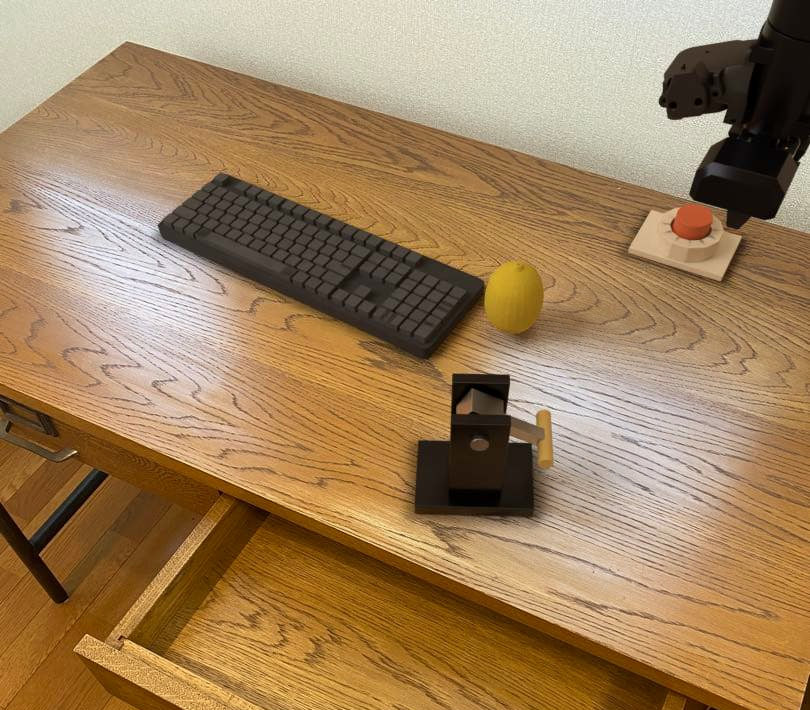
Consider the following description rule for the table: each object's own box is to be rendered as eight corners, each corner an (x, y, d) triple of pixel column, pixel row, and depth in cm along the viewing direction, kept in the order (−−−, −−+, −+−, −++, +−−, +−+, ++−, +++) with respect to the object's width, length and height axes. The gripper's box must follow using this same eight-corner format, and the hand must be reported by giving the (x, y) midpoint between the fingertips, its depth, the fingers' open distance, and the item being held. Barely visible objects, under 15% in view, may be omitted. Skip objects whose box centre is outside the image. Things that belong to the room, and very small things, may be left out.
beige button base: (740, 241, 80) (748, 221, 77) (720, 281, 76) (729, 261, 74) (649, 215, 82) (655, 194, 80) (627, 252, 79) (633, 232, 77)
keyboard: (485, 291, 77) (487, 275, 75) (426, 360, 72) (426, 345, 70) (224, 182, 87) (220, 166, 86) (158, 236, 83) (153, 220, 81)
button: (712, 225, 78) (717, 210, 76) (701, 245, 76) (707, 230, 75) (678, 215, 79) (683, 200, 77) (667, 235, 77) (672, 220, 76)
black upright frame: (530, 450, 66) (546, 364, 57) (532, 517, 63) (550, 437, 53) (418, 448, 67) (416, 362, 58) (414, 513, 63) (411, 433, 54)
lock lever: (540, 424, 62) (558, 408, 60) (543, 474, 59) (561, 458, 57) (456, 392, 59) (472, 373, 57) (455, 442, 56) (471, 425, 54)
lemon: (471, 337, 74) (476, 270, 67) (500, 303, 76) (506, 236, 69) (520, 359, 72) (530, 293, 65) (548, 324, 74) (560, 257, 67)
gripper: (734, -57, 56) (677, 144, 69) (647, 61, 48) (601, 263, 61) (889, -29, 53) (799, 175, 66) (824, 102, 45) (736, 305, 58)
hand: (733, 225), depth 63 cm, fingers closed
